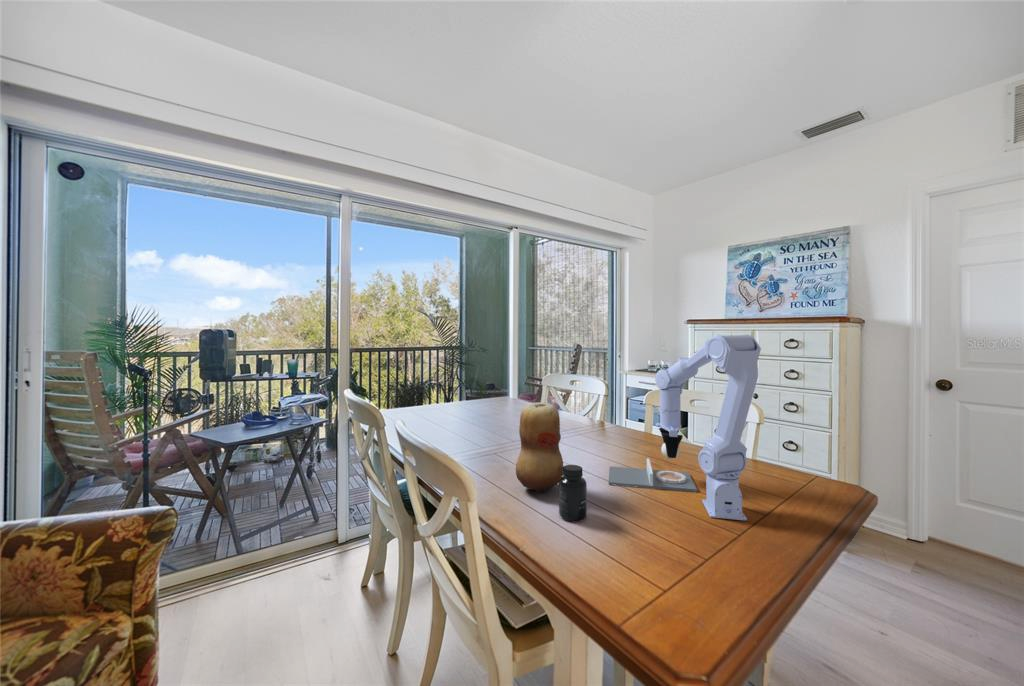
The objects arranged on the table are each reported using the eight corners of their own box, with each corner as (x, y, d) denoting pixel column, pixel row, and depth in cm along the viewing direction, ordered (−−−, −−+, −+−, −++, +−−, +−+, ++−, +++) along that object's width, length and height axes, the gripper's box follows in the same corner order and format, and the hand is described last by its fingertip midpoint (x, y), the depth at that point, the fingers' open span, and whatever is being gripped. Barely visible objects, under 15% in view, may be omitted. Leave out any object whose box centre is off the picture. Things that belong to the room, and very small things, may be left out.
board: (697, 492, 107) (697, 477, 107) (608, 484, 114) (608, 470, 113) (688, 474, 121) (688, 461, 120) (609, 468, 127) (609, 456, 127)
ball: (680, 461, 112) (680, 444, 112) (662, 460, 114) (662, 443, 113) (677, 456, 117) (677, 439, 117) (660, 455, 118) (660, 438, 118)
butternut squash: (524, 502, 103) (523, 409, 102) (510, 484, 115) (509, 401, 115) (572, 495, 106) (570, 405, 106) (553, 478, 119) (552, 398, 119)
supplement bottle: (589, 522, 91) (588, 472, 91) (560, 522, 91) (559, 472, 91) (584, 509, 98) (583, 462, 98) (557, 509, 98) (557, 463, 98)
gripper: (653, 405, 123) (654, 447, 123) (658, 414, 109) (658, 461, 109) (677, 405, 121) (677, 448, 121) (685, 415, 107) (685, 463, 108)
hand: (670, 454), depth 115 cm, fingers closed on ball, 5 cm apart
